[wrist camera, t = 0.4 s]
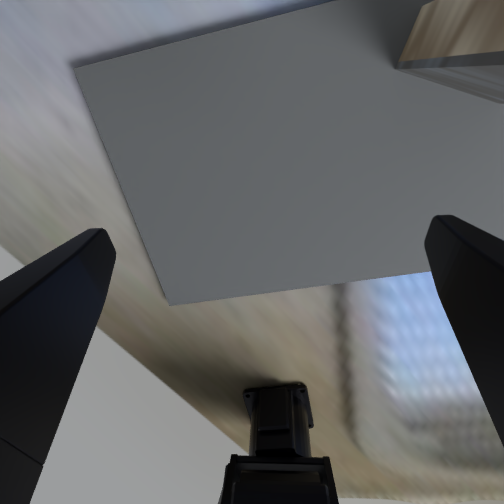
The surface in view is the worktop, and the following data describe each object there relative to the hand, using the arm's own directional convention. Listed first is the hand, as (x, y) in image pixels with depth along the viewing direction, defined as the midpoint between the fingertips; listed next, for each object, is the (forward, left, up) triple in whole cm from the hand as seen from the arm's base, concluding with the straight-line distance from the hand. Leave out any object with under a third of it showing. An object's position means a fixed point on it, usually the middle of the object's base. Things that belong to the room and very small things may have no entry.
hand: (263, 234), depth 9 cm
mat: (-3, -3, -14) cm, 14 cm away
